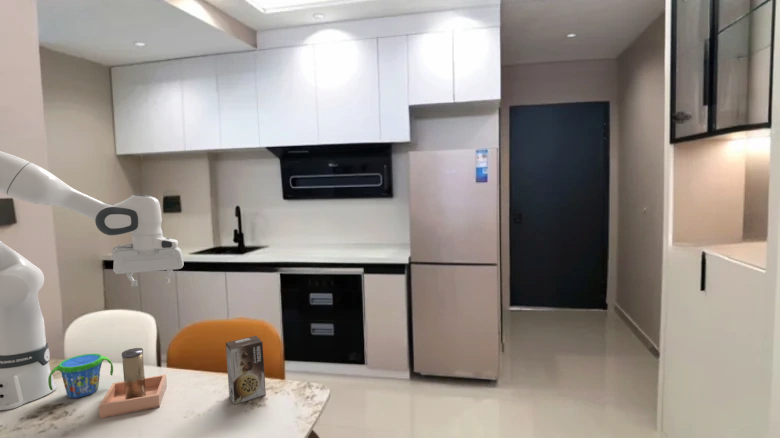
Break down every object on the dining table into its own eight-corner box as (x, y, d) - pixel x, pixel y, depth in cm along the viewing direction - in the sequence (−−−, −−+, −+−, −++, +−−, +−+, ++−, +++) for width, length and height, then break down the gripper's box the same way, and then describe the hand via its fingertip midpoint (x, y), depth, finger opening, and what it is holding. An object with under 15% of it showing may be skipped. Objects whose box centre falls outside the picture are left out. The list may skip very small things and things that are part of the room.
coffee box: (259, 386, 126) (257, 334, 125) (266, 395, 120) (263, 341, 119) (228, 396, 121) (225, 341, 119) (233, 405, 115) (230, 348, 114)
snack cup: (114, 379, 133) (112, 348, 133) (114, 392, 125) (111, 359, 124) (52, 393, 125) (49, 360, 124) (47, 408, 116) (44, 373, 115)
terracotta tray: (99, 418, 110) (98, 405, 110) (113, 394, 123) (113, 383, 123) (159, 407, 115) (158, 394, 115) (166, 385, 128) (166, 374, 128)
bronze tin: (123, 405, 116) (119, 356, 115) (127, 396, 121) (124, 349, 120) (144, 401, 118) (141, 353, 117) (147, 392, 123) (144, 346, 122)
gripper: (108, 246, 131) (111, 289, 132) (180, 242, 138) (183, 283, 139) (114, 244, 137) (117, 285, 138) (182, 240, 144) (185, 279, 145)
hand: (150, 284), depth 138 cm, fingers open, 8 cm apart
